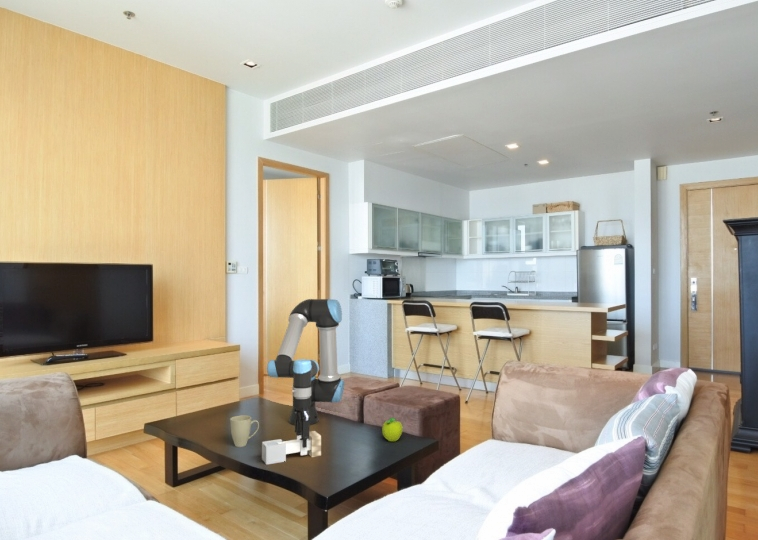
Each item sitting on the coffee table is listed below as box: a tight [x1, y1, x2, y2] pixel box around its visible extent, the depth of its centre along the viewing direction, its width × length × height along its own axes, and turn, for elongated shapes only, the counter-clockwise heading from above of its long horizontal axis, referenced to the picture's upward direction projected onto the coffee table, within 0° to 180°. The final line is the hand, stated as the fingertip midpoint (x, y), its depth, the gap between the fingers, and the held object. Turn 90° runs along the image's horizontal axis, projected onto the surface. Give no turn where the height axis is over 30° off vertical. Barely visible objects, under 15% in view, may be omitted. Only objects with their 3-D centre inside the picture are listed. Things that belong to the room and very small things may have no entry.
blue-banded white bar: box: [277, 438, 311, 455], centre depth 203 cm, size 15×4×4 cm, turn 118°
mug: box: [229, 414, 260, 448], centre depth 218 cm, size 11×10×12 cm
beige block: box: [307, 430, 322, 458], centre depth 207 cm, size 4×8×8 cm, turn 28°
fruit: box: [381, 417, 404, 442], centre depth 224 cm, size 9×9×10 cm
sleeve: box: [261, 438, 287, 465], centre depth 199 cm, size 8×7×7 cm
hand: (301, 452), depth 204 cm, fingers closed on blue-banded white bar, 4 cm apart
